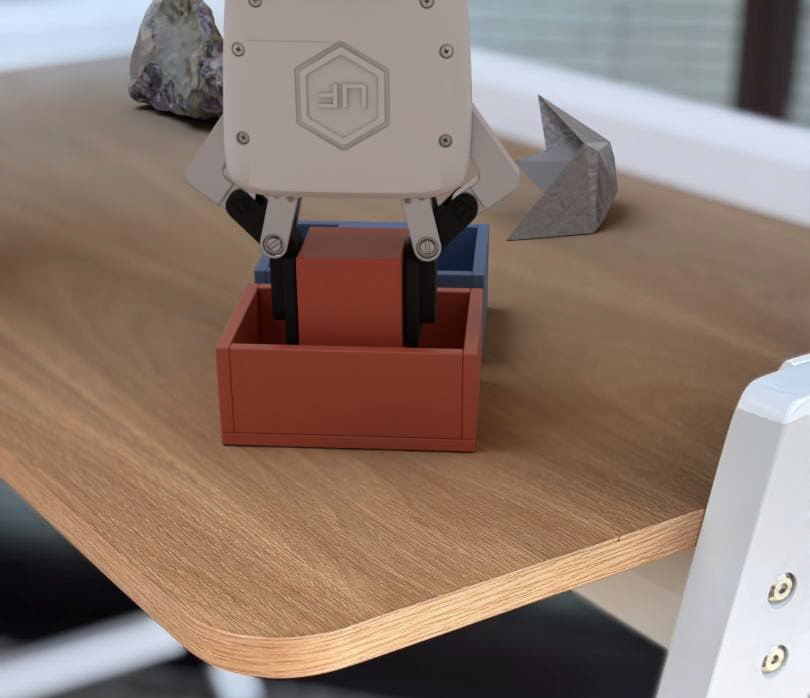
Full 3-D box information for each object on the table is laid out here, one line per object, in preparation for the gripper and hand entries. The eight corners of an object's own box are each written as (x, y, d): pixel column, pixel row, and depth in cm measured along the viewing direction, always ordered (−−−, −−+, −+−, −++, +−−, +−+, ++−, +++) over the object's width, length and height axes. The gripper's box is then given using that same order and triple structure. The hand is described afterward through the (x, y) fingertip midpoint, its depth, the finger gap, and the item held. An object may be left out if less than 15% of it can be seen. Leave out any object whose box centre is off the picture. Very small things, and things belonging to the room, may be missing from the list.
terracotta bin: (221, 444, 66) (214, 347, 64) (252, 372, 73) (247, 282, 71) (475, 452, 65) (477, 354, 63) (481, 378, 73) (483, 288, 70)
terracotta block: (299, 356, 66) (295, 258, 64) (313, 320, 70) (309, 225, 68) (401, 359, 66) (400, 260, 63) (409, 322, 69) (409, 227, 67)
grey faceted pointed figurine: (621, 233, 88) (472, 190, 88) (590, 295, 94) (449, 256, 93) (646, 85, 94) (505, 44, 93) (614, 153, 100) (481, 115, 99)
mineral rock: (255, 137, 113) (248, -2, 108) (112, 139, 113) (98, -1, 108) (263, 98, 124) (257, -30, 119) (133, 99, 124) (122, -29, 119)
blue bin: (258, 358, 75) (253, 270, 73) (282, 301, 82) (279, 219, 80) (482, 364, 74) (484, 275, 72) (487, 306, 81) (489, 223, 79)
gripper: (109, -91, 56) (152, 363, 65) (563, -90, 55) (544, 373, 64) (154, -113, 63) (188, 303, 71) (561, -112, 61) (543, 310, 70)
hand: (355, 331), depth 67 cm, fingers closed on terracotta block, 4 cm apart
